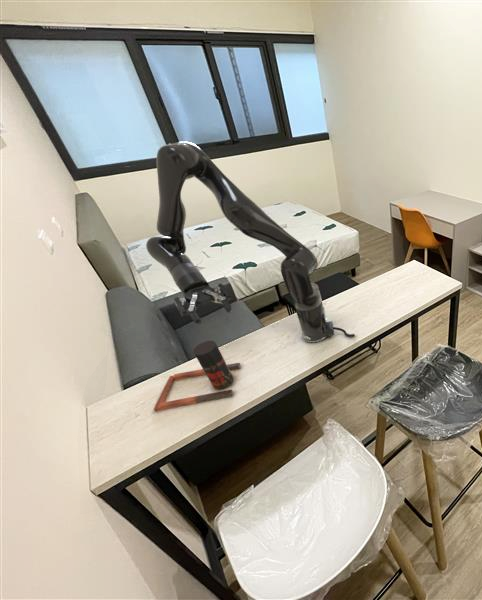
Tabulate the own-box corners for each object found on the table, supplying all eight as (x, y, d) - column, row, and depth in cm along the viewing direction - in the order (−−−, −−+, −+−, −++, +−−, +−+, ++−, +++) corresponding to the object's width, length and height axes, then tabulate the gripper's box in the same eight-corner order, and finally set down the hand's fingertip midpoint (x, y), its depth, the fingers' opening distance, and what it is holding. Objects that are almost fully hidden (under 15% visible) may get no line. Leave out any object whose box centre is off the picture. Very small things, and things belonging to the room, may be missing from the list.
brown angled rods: (240, 365, 108) (239, 362, 107) (232, 396, 97) (230, 393, 96) (171, 378, 104) (169, 375, 104) (155, 411, 94) (152, 408, 93)
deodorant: (209, 385, 101) (189, 350, 93) (226, 372, 105) (209, 338, 97) (220, 393, 98) (200, 357, 90) (237, 380, 102) (220, 345, 94)
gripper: (162, 279, 94) (187, 318, 90) (212, 265, 104) (238, 300, 99) (166, 295, 100) (190, 333, 95) (214, 281, 109) (238, 314, 104)
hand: (215, 316), depth 97 cm, fingers open, 8 cm apart
